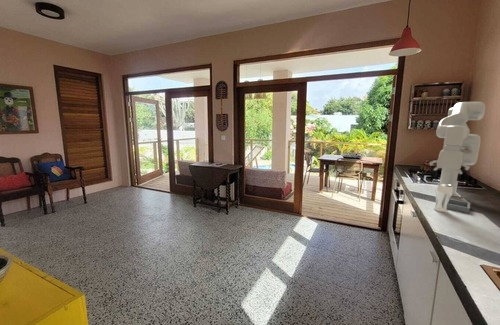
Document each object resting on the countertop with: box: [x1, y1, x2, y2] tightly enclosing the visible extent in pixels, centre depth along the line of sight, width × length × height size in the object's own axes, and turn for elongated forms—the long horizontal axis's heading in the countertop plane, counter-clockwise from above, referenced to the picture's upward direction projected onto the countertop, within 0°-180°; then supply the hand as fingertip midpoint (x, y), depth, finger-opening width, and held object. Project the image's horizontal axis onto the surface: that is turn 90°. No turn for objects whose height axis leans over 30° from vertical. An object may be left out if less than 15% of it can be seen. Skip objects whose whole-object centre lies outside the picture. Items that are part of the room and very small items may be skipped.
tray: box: [447, 198, 471, 214], centre depth 139 cm, size 13×12×3 cm
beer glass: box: [433, 183, 453, 213], centre depth 133 cm, size 7×7×15 cm
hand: (446, 179), depth 131 cm, fingers open, 9 cm apart
